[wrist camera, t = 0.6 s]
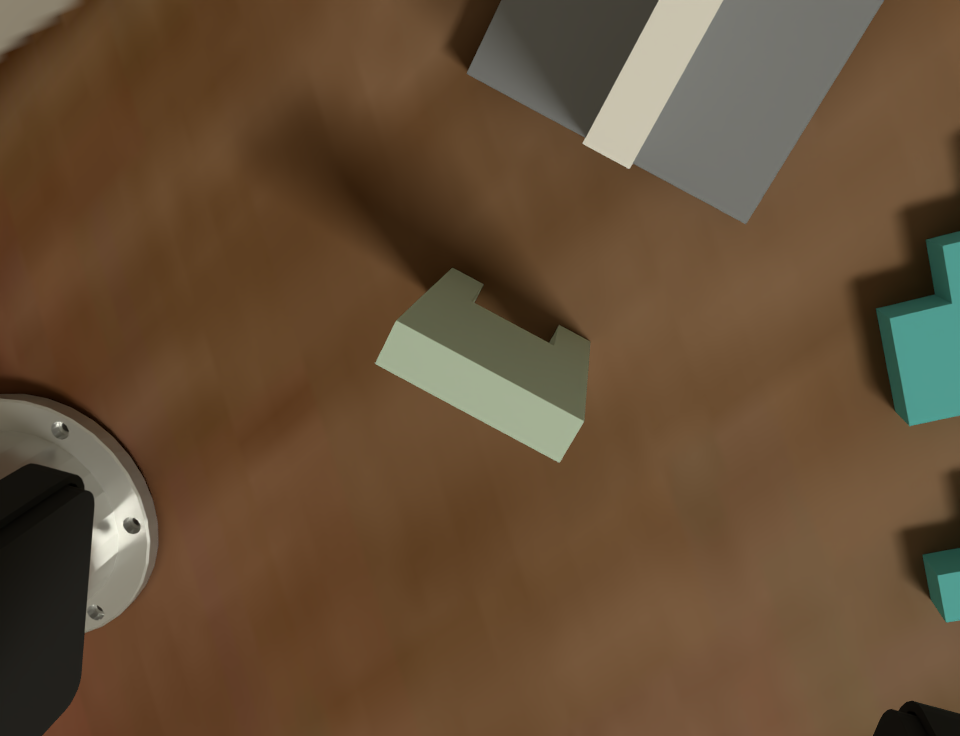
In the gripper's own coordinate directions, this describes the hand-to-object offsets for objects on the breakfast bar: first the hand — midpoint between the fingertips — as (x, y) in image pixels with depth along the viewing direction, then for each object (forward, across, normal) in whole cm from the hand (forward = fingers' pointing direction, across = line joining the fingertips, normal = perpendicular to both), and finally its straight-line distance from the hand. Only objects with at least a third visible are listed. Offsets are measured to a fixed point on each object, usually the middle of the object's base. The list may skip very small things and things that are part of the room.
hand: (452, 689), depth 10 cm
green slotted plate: (+27, +2, +2) cm, 27 cm away
